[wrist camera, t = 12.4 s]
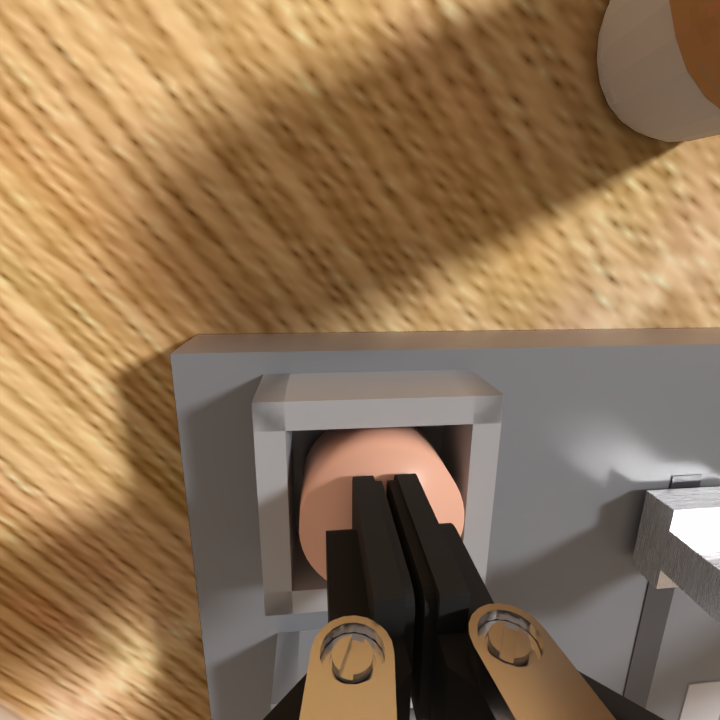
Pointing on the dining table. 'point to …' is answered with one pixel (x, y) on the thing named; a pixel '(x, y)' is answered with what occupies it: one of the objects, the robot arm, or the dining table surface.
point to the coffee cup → (662, 66)
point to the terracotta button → (366, 458)
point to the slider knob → (682, 543)
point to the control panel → (475, 483)
